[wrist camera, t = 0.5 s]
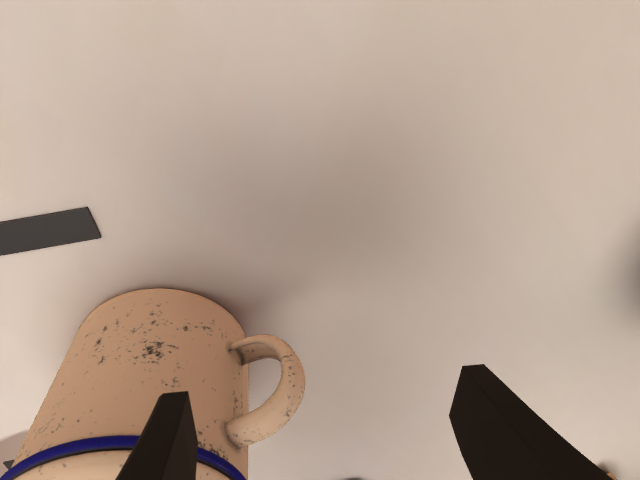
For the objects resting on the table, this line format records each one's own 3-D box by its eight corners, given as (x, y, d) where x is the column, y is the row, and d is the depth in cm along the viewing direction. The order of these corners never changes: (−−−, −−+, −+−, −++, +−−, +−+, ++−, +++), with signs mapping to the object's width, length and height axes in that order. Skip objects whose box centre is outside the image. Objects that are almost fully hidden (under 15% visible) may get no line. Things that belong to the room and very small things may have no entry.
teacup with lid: (147, 427, 26) (84, 704, 16) (30, 330, 21) (-163, 637, 11) (328, 346, 24) (380, 595, 15) (245, 223, 20) (240, 467, 10)
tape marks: (195, 439, 27) (195, 441, 27) (16, 475, 27) (15, 477, 26) (87, 206, 18) (86, 207, 18) (-183, 253, 18) (-185, 254, 18)
